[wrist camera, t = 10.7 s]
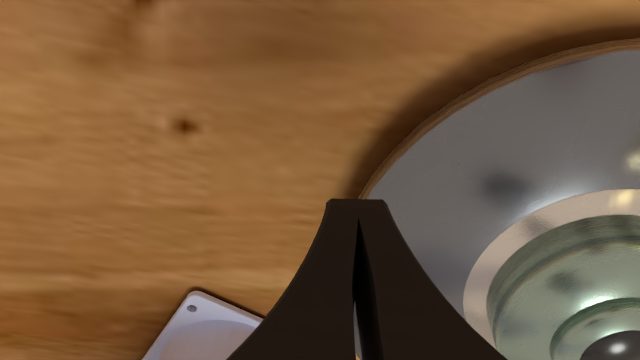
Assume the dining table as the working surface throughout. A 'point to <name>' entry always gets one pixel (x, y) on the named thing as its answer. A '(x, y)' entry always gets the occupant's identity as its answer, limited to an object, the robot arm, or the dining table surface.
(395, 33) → the dining table surface
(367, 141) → the dining table surface
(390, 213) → the robot arm
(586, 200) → the turntable platter
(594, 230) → the cover
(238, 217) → the dining table surface
